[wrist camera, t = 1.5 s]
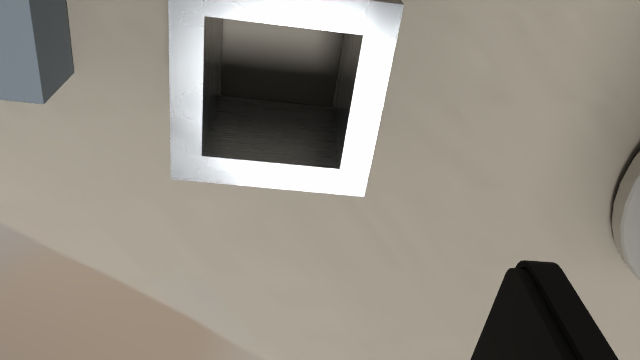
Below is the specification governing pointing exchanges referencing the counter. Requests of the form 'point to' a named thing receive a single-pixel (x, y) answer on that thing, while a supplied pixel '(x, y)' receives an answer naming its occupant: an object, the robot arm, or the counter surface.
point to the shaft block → (33, 49)
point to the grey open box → (279, 117)
